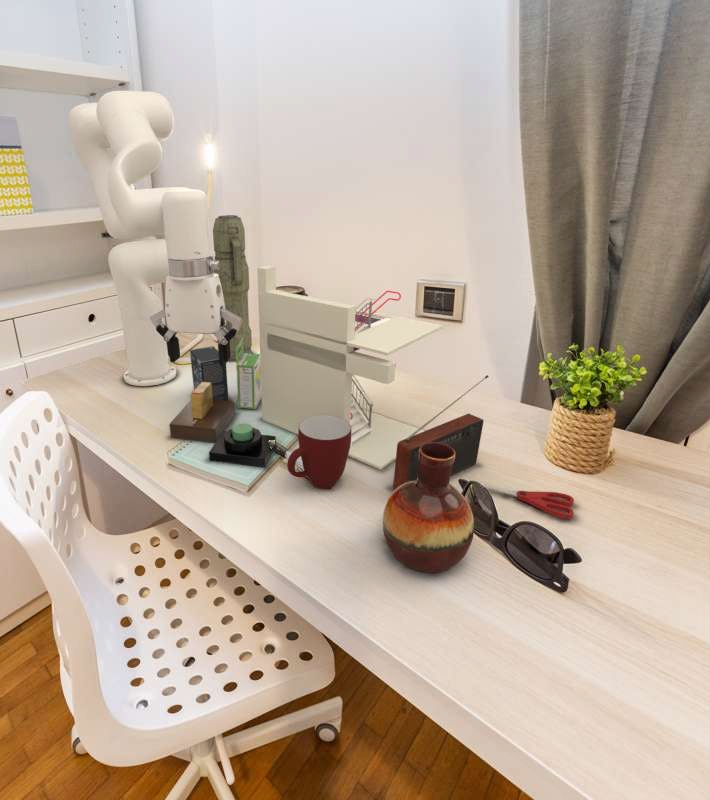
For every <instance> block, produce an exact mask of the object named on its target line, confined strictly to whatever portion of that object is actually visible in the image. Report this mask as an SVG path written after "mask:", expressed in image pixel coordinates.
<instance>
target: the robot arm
mask: <svg viewBox="0 0 710 800" xmlns="http://www.w3.org/2000/svg"><path fill="white" fill-rule="evenodd" d="M167 99H168V98H166V97H165V96H164V95H163V94H162V93H159V92H157V91H149V90H147V91H146V90H145V91H143V90H112V91H109V92H105V94H103V95H102V96H101V97H99V99H98V101H97V102H85V103H81V104H78V105H75V106H74V107H72V109H70V111H69V113H68V117H67V118H68V121H67V122H68V123H67V124H68V125H67V126H68V131H69V136H70V140H71V144H72V146H73V148H74V149H73V150H74V151H75V154H76V155H77V158H78V160H79V162H80V163H81V164H82V166H83V168H84V169H85V172H86V174H87V175H88V176H89V179H90V181H91V183H92V186H93V190H94V194H95V197H96V200H97V204H98V208H99V211H100V215H101V218H102V221H103V224H104V227H105V230H106V231H107V233H108V235H109V236H110V237H112V238H113V239H116V240H131V239H141V238H150V237H154V238H156V239H144V240H135V241H126V242H123V243H119V244H117V245H115V246H114V247H112V248H111V249H110V251H109V253H108V256H107V261H108V267H109V270H110V271H109V272H110V275H111V277H112V280H113V281H112V282H113V284H114V288H115V291H116V295H117V301H118V306H119V312H120V317H121V324H122V325H121V326H122V331H123V338H124V344H125V349H126V350H125V352H126V359H127V364H128V369H127V370H125V371H124V373H123V381H124V382H125V383H127V384H128V385H131V386H136V387H152V386H157V385H163V384H165V383H167V382H170V381H172V380H173V379H174V378H176V376H177V368H176V367H175V366H174V365H172V364H170V363H175V362H177V361H178V360H179V359H180V358H181V350H180V349H181V348H180V340H179V337H178V336H176V335H177V334H195V335H196V334H198V335H213V336H214V337H215V338H216V339H218V340H219V341H220V344H219V345H218V344H217V350H218V351H219V364H220V365H221V366H224V365H225V364H226V365H227V363H228V362H229V361H228V360H229V359H230V340H231V339H232V338H233V337H234V336H235V335H236V334H237V333H238V330H239V329H240V326H241V324H242V322H243V319H242V318H241V317H239V316H237V315H235V314H233V313H231V312H230V311H228V310H226V309H225V303H224V297H223V292H222V287H221V283H220V279H219V276H218V274H213V272H214V270H216V269H220V261H215V258H214V256H213V251H212V238H211V222H210V212H209V211H210V210H209V208H210V207H209V200H208V196H207V194H206V193H205V191H203V190H201V189H191V188H188V187H184V186H175V187H174V186H173V187H152V188H151V187H150V188H139V189H137V188H135V187H134V184H135V183H137V182H139V181H141V180H143V179H144V178H146V177H148V176H149V175H151V174H152V173H153V172H155V171H156V169H157V168H159V166H160V164H161V162H162V158H163V148H162V145H161V143H162V142H165V141H167V140H168V139H169V138H170V137H171V135H172V133H173V130H174V126H175V117H174V112H173V109H172V106H171V103H170V102H169V100H167ZM108 149H111V150H112V152H113V153H111V152H110V151H109V150H108ZM162 283H165V289H164V305H165V306H164V308H163V304H162V301H161V299H160V298H159V297H158V296H157V294H155V293H154V292H153V291H152V290H151V289H150V286H152V285H156V284H157V285H158V284H162ZM226 320H227V321H229V322H231V323H232V328H231V330H230V331H229V332H228V331H227V330H226V329H225V327H224V326H225V325H226ZM165 321H166V324H165ZM218 340H217V341H218Z"/></svg>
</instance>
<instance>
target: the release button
mask: <svg viewBox="0 0 710 800" xmlns="http://www.w3.org/2000/svg"><path fill="white" fill-rule="evenodd" d="M231 429H232V436H233V439H234V440H236V441H247V440H250V439H252V438H253V425H251V424H249V423H237V424H235V425H233V426H232V428H231Z"/></svg>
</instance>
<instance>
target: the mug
mask: <svg viewBox="0 0 710 800" xmlns="http://www.w3.org/2000/svg"><path fill="white" fill-rule="evenodd" d="M297 436H298V437H297V439H298V448H296V449H294V450H293V451H292V452H291V453H290V455H289V456H288V459H287V461H286V462H287V463H286V465H287V466H286V468H287V471H288V473H289V474H290V475H291V476H293V477H295V478H298V479H299V478H307V479H308V480H309V481H310V483H311V484H312V486H314V487H316V488H318V489H331V488H333V487H334V486H335V485H336V484H337V483H338V482H339V480H340V479H341V477H342V476H343V474H344V472H345V470H346V469H345V468H346V465H347V461H348V457H349V456H348V454H349V450H350V445H351V425H350V424H349V423H348V422H347V421H345V420H344V419H342V418H339V417H335V416H329V415H319V416H312V417H309V418H306V419H304V420H303V421H302V422H301V423H300V424H299V430H298V435H297ZM299 458H301V463H302V468H303V470H301V471H297V470H296V463H297V461H298V459H299Z"/></svg>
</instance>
